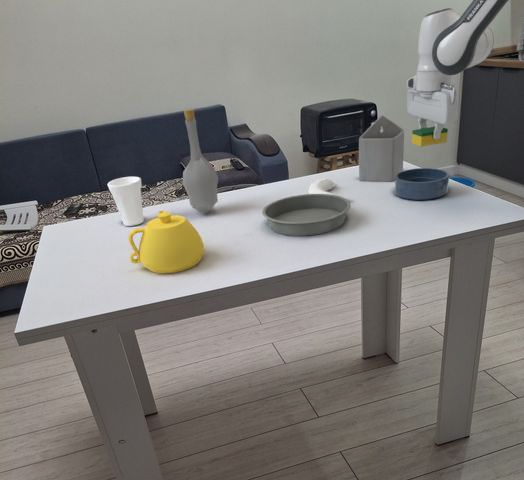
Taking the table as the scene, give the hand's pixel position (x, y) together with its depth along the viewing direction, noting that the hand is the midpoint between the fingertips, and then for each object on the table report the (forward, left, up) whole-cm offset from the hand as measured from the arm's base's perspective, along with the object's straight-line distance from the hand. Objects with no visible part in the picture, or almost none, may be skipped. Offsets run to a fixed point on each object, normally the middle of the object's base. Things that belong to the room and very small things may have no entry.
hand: (429, 136), depth 149 cm
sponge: (0, 0, -2) cm, 2 cm away
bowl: (+2, -4, -17) cm, 18 cm away
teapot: (+54, +57, -18) cm, 81 cm away
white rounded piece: (+28, +2, -18) cm, 33 cm away
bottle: (+63, +22, -18) cm, 69 cm away
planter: (+16, -18, -18) cm, 30 cm away
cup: (+82, +34, -18) cm, 91 cm away
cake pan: (+28, +25, -18) cm, 41 cm away
